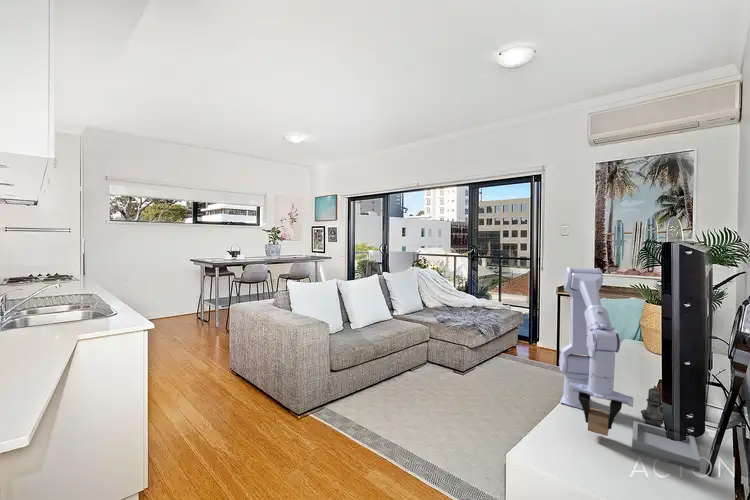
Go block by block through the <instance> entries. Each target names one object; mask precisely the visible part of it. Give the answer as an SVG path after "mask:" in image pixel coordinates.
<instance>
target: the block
mask: <svg viewBox="0 0 750 500" xmlns="http://www.w3.org/2000/svg"><path fill="white" fill-rule="evenodd" d="M609 417H610V411H609V412H608V411H604V410H601V409H597V408H593V407H590V411H589V414H588V423H587V431H588V432H591V433H595V434H599V435H602V436H606V437H608V435H609V430H610V429H608V423H609Z"/></svg>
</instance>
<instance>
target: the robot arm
mask: <svg viewBox="0 0 750 500" xmlns="http://www.w3.org/2000/svg"><path fill="white" fill-rule="evenodd" d="M603 282H604V274H603V271H602V270H601V268H600V267H596V268H595V267H593V268H592V267H574V266H573V267H572V266H568V267H566V268H565V270H564V275H563V289H564V292H566V293H567V294H569V299H570V300H569V301H570V305H569V306H570V307H569V308H570V312H569V315H570V317H569V318H570V319H569V329H570V330H569V344H567V345H565V346H563V347H562V348H561V349H560V354H559V360H558V365H559V366H558V367H559V371H560V372H561V374H563V375H564V377H563V392H562V393H563V395H562V396H561V398H560V401H559V403H560V404H562V403H563V402H564V403H563V404H562V405H566V406H569V407H574V408H578V409H581V410H583V413H584V418H585V419H584V420H585V423H587V424H588V414H589V411H590V408H591V403H592V398H591V397H594V398H597V399H599V400H600V399H601V400H606V401H610V402H609V413H610V416H609V423H608V429H609V430H612V427H613V423H614V421H615V419H616V417H617V415H618V413H620V412H621V410H622V407H623V406H622V405H623V404H624V405H627V406H628V407H631V408H633V407H634V396H631V395H628V394H624V393H621V392H618V391H616V390H614V387H615V386H614V383H615V382H614V381H615V368H616V367H615V366H616V354H617V353H619V352H620V349H621V337H620V332H619V331H618V330H617V329H616V328H615V327H614V326H612V323H611V319H610V315H609V313H608V310H607V309H606V308H605V307H603V306H602V303H601V296H600V291H599V290H600V289H601V287H602V285H603ZM587 331H588V332H587ZM567 396H568V397H567ZM565 398H566V399H565ZM564 399H565V400H564ZM563 400H564V401H563ZM562 401H563V402H562ZM561 402H562V403H561Z"/></svg>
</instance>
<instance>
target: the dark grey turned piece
mask: <svg viewBox="0 0 750 500" xmlns="http://www.w3.org/2000/svg"><path fill="white" fill-rule="evenodd" d="M661 396H662V392H661V390H660V389H658V388H657V386H656V385H654V386H653V387H652V388H649V389H648V393H647V398H646V399H645V400H646V402H647V407H646V409H642V410H640V413H641V416H642V419H643V421H642V422H641V423H644V424H648V425H651V426H655V427H659V428H663V429H665V428H664V427H663V426H662V425H663V424H664V423H665V422H663V418H662V414H663V413H662V412H661V406H662V405H663V402H661V398H662V397H661Z"/></svg>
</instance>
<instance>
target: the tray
mask: <svg viewBox="0 0 750 500" xmlns="http://www.w3.org/2000/svg"><path fill="white" fill-rule="evenodd" d="M632 424H633V425H632V438H631V439H632V440H631V441H632V442H631V452H634V453H638V454H641V455H644V456H648V457H650V458H654V459H657V460H661V461H664V462H667V463H670V464H674V465H677V466H681V467H684V468H687V469H690V470H694V471H698V472H700V471H701V469H700V468H701V458H700V455H699V451H698V446H697V442H696V438H695V436H693V435H689V434H688V435H689V436H686V440H684V441H673V440H671V439H669V438H667V436H666V432H667V431H666V430H665V429H666V428H664V427H663V428H664V429H663V428H659V427H655V426H651V425H648V424H644V423H642V422H640V421H636V420H633V423H632Z"/></svg>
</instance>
